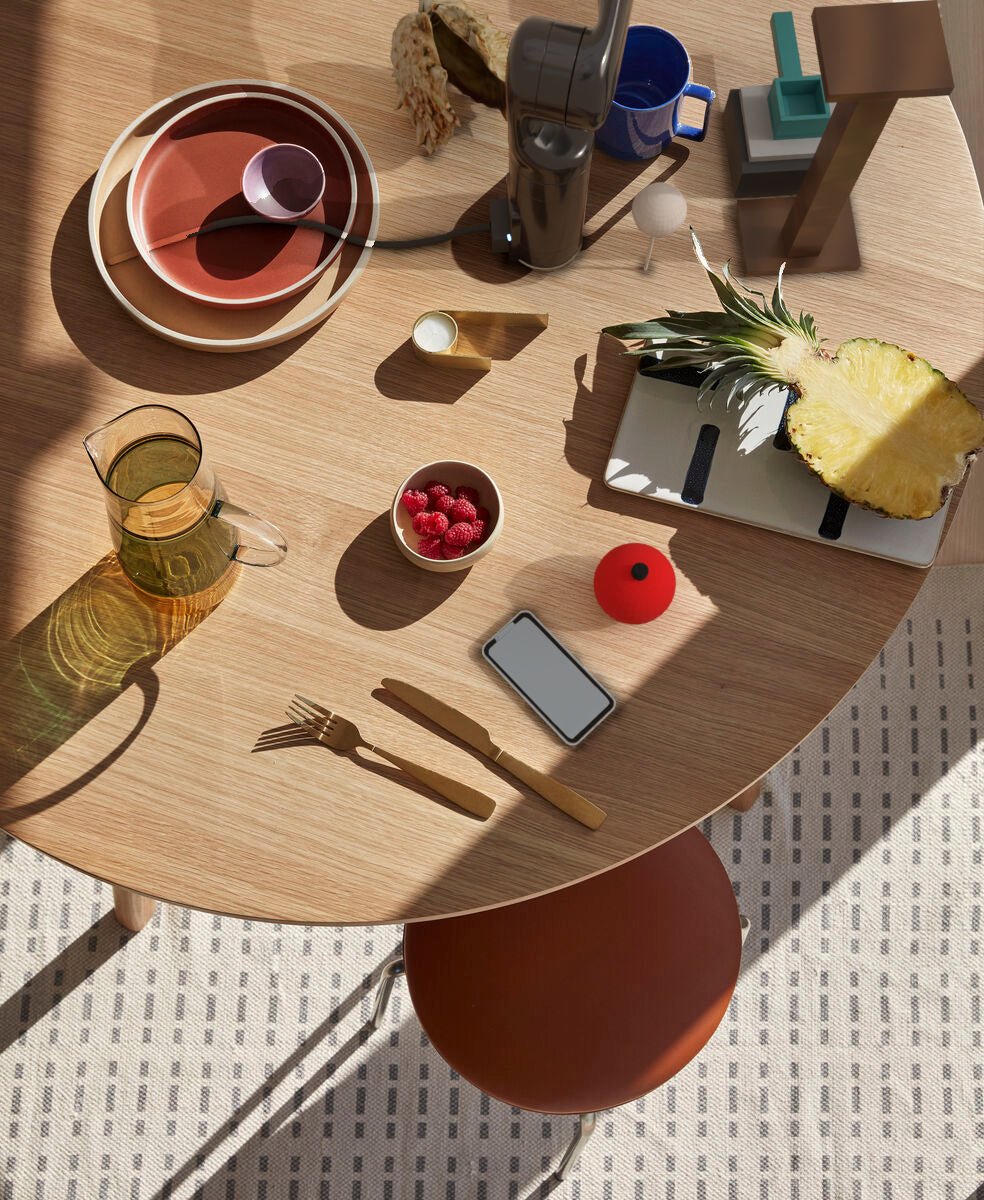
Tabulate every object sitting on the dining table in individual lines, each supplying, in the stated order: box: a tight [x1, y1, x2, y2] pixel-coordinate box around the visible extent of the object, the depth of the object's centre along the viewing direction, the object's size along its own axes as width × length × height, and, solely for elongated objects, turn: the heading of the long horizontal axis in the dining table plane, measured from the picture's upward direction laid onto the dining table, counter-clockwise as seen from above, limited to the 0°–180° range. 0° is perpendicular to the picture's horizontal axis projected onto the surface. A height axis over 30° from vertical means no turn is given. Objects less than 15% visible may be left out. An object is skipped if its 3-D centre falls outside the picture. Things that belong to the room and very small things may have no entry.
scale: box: [721, 84, 837, 199], centre depth 136 cm, size 14×12×6 cm
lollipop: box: [631, 181, 688, 271], centre depth 128 cm, size 6×6×15 cm
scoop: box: [767, 10, 831, 140], centre depth 133 cm, size 6×17×4 cm, turn 4°
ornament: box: [592, 542, 677, 626], centre depth 120 cm, size 9×9×10 cm
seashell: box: [389, 0, 509, 156], centre depth 133 cm, size 18×18×15 cm
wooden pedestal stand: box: [734, 0, 956, 278], centre depth 121 cm, size 14×10×32 cm
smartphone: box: [481, 609, 617, 747], centre depth 122 cm, size 7×1×15 cm
